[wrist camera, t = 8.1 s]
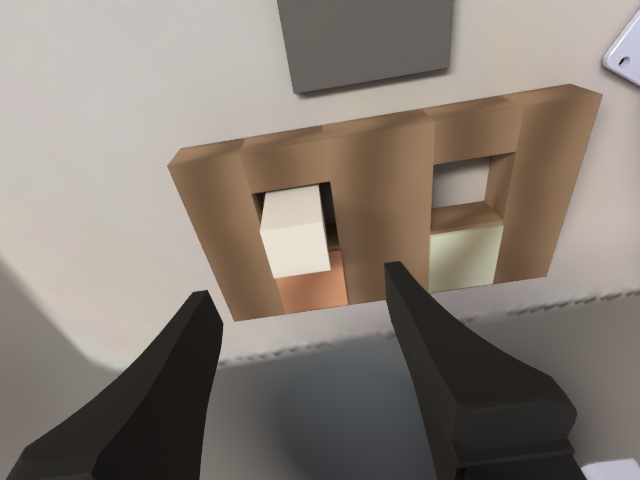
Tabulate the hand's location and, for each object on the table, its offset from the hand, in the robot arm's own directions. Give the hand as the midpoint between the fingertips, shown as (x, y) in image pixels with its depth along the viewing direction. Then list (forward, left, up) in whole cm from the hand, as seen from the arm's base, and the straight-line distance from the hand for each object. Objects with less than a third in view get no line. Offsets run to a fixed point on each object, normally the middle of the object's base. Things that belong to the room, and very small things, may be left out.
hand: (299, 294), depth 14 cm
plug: (0, 0, -9) cm, 9 cm away
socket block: (-5, 0, -9) cm, 11 cm away
